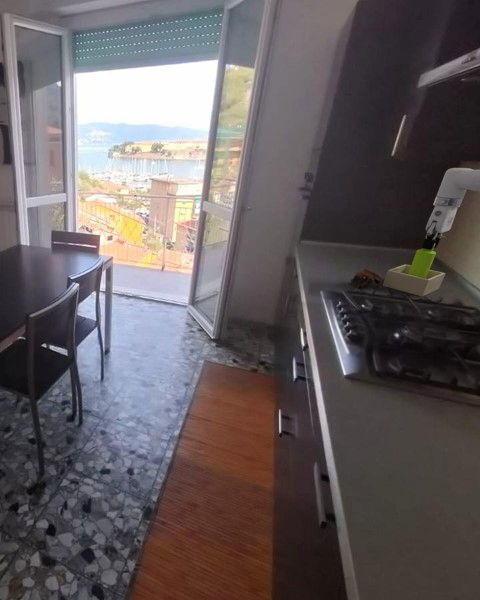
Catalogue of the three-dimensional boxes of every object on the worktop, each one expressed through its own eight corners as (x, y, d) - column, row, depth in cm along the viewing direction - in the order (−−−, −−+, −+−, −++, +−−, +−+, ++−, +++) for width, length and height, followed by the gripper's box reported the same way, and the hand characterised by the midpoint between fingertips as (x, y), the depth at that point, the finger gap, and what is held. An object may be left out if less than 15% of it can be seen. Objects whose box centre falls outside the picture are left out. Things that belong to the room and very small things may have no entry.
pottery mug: (345, 281, 158) (359, 266, 155) (365, 294, 155) (380, 278, 153) (353, 284, 147) (369, 267, 144) (375, 297, 144) (391, 281, 142)
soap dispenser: (429, 284, 147) (449, 237, 139) (408, 282, 150) (426, 235, 141) (424, 280, 152) (443, 234, 143) (403, 277, 154) (421, 232, 146)
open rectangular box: (438, 289, 148) (445, 273, 145) (422, 296, 141) (429, 280, 138) (399, 279, 159) (405, 264, 156) (382, 285, 152) (387, 270, 149)
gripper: (451, 205, 131) (431, 253, 138) (469, 201, 138) (449, 247, 145) (425, 202, 137) (408, 248, 144) (443, 199, 144) (426, 243, 151)
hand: (429, 247), depth 145 cm, fingers closed on soap dispenser, 3 cm apart
